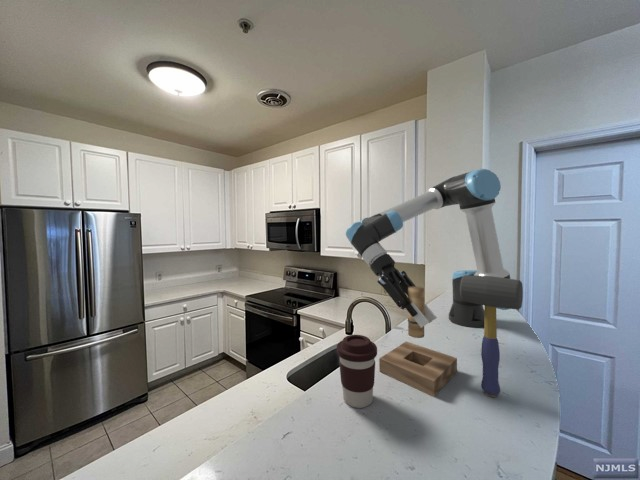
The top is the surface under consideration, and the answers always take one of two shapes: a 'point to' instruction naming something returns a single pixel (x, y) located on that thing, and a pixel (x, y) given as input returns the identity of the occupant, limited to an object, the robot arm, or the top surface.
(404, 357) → the walnut socket block
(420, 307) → the oak peg
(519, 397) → the top surface
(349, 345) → the coffee cup
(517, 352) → the top surface
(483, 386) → the rubber mallet
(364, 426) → the top surface
